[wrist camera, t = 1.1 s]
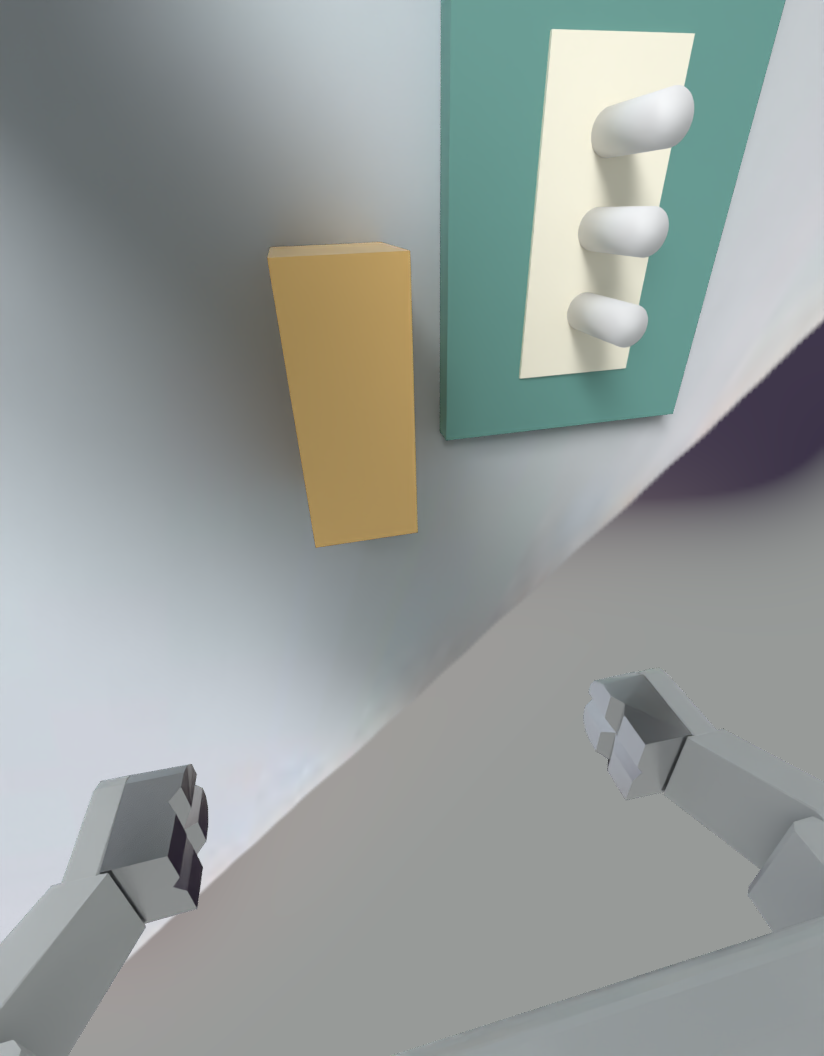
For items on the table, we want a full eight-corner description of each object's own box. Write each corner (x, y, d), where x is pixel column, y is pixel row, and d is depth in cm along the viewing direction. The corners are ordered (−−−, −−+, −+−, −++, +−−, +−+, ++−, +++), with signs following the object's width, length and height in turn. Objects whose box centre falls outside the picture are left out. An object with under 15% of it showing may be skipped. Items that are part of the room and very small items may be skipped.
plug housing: (270, 246, 24) (266, 257, 19) (380, 241, 25) (410, 250, 20) (309, 487, 32) (315, 547, 26) (393, 476, 33) (417, 532, 27)
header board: (441, -83, 20) (496, -184, 15) (777, -59, 23) (921, -138, 17) (439, 431, 32) (470, 473, 27) (658, 406, 35) (724, 440, 29)
